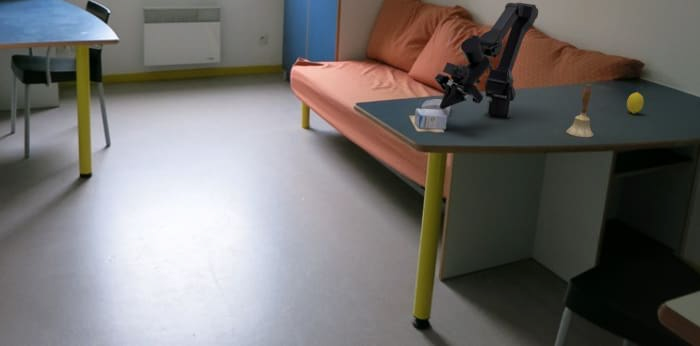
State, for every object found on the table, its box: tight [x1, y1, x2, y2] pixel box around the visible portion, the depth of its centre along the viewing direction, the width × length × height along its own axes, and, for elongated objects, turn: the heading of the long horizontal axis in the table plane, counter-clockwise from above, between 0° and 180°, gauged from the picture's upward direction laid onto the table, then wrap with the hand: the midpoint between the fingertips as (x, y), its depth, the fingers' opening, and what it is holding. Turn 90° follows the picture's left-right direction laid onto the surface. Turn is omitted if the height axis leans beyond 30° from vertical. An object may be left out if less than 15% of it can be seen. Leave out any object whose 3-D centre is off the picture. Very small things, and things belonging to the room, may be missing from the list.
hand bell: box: [565, 84, 594, 138], centre depth 230 cm, size 8×8×16 cm
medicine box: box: [414, 108, 448, 130], centre depth 228 cm, size 8×4×9 cm
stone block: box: [421, 98, 453, 118], centre depth 247 cm, size 12×5×10 cm
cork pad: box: [408, 115, 445, 134], centre depth 231 cm, size 8×17×1 cm, turn 4°
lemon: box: [626, 91, 645, 115], centre depth 261 cm, size 6×6×8 cm
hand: (440, 108), depth 225 cm, fingers closed
